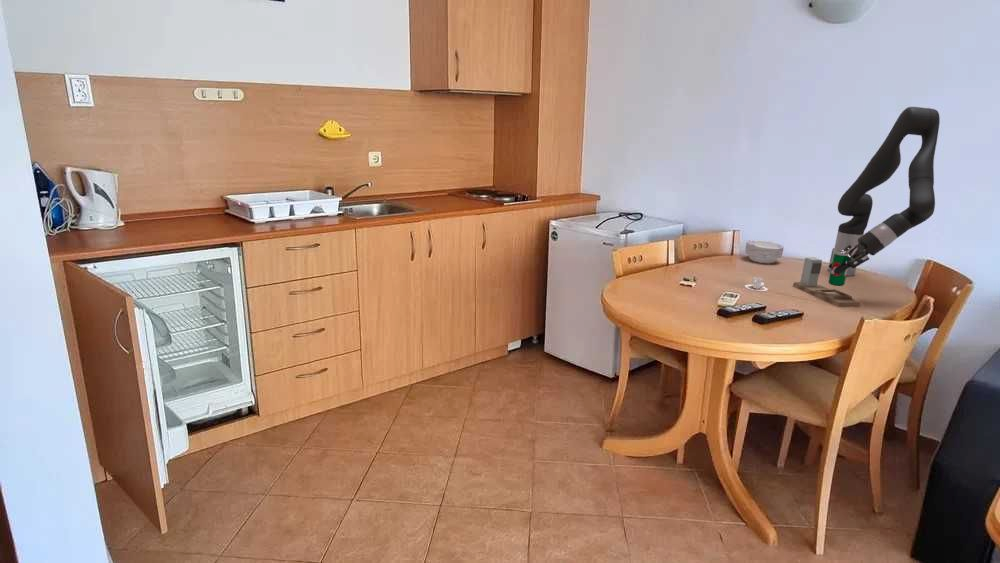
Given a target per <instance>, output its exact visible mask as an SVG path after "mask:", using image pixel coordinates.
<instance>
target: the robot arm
mask: <svg viewBox="0 0 1000 563" xmlns="http://www.w3.org/2000/svg"><path fill="white" fill-rule="evenodd" d="M940 118H941V117H940V114H939V111H938V110H937V109H935V108H930V107H920V106H908V107H906V108H905V109H904V110H902V112H900V114H899V116H898V117H897V118H896V121H895V122H894V124H893V126H892V127H891V129H890V131H889V133H888V135H887V136H886V138H885V140H884V141H883V142H882V143H881V145H880V147H879V148H878V149H877V151H876V152H875V154H874V155H873V156H872V157H871V158H870V160H869V162H868V163H867V164H866V165H865V167H864V169H863V170H862V172H861V173H860V175H858V177H857V178H856V180H855V181H854V182H853V184H851V185H850V187H849V188H848V189H847V190H846V191H844V192H843V194H842V196H841V197H840V198H839V201H838V204H837V211H838V213H839V214H840V215H842V216H847V217H852V218H851V219H850V220H848V221H846V222H843V223H840V224H839V225H838V228H837V229H838V230H837V234H836V239H835V243H834V247H833V248H832V249H831V254H830V259H829V264H828V271H829V272H830V271H831V266H832V261H833V256H834V253H835V252H836V250H843V251H848V252H850V253H849V254H850V256H849V257H848V259H847V260H846V261H845V262H844V263H845V264H844V263H843V264H841V265H840V266H838V267H837V268H836V269H835V272H836V273H837V274H840V273H842V272H843V271H845V270H846V269H848V270H847V275H846V277H848V276H849V277H853V276H855V275H856V270H857V267H859V266H860V265H862V264H864V263H866V262H867V261H868V260H870V257H869V255H870V256H875V255H877V254H878V253H879V252H881V251H882V250H884V249H885V248H886V247H888V246H890V245H891V244H893V242H894V241H896V239H898V238H899V237H900V236H903V234H905V233H906V232H908V231H909V230H911V229H912V228H915V227H916V226H919V225H921V224H922V223H924V222H925V221H927V220H929V219H930V218H931V217H932V215H933V214H934V212H935V208H936V207H935V206H936V199H935V198H936V197H935V190H934V189H935V188H934V185H935V184H934V183H935V180H934V179H935V171H934V169H935V168H934V162H935V153H936V148H937V143H938V137H939V136H938V135H939V128H940V122H941V121H940ZM908 135H912V136H921V145H920V148H919V150H918V151H917V153H916V154H915V156H914V157H913V158H912V160H911V162H910V164H909V167H908V174H907V175H908V176H907V178H908V189H909V201H908V202H909V204H908V207H906V208H905V209H904V210H902V211H901V212H899V213H894V214H892V215H891V216H889V217H888V218H886V219H885V220H883V221H882V222H881V223H878V224H877V225H876V226H874V227H872V228H871V229H869V230H868V231H866V229H867V226H868V223H869V221H870V220H869V219H870V216H871V212H872V209H873V197H872V195H870V194H868V192H870V191H871V190H872V189H875V188H876V187H879V186H880V185H882V184H884V183H885V182H888V180H889V179H891V178H892V176H893V175H894V173H895V172H897V169H898V168H899V167H900V165H901V160H902V159H901V158H902V157H901V156H902V155H901V154H902V153H901V150H900V149H901V143H902V142H903V140H904V139H905V137H906V136H908ZM865 231H866V233H865ZM852 275H853V276H852Z"/></svg>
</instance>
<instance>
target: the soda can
mask: <svg viewBox="0 0 1000 563" xmlns="http://www.w3.org/2000/svg"><path fill="white" fill-rule="evenodd" d="M849 253H850V252H848V251H843V250H836V252H835V253H834V256H833V261H832V266H831V271H829V277H828V281H827V282H828V284H830V285H832V286H834V287H835V286H836V287H843V286H844V285H845V284H846V278H847V276H846V275H847V270H848V269H846V270H845V271H843V272H842V273H840V274H837V273H836V272H835V269H836V268H837V267H838V266H840V265H841V264H843V263H844V262H845V261H846V260H847V259H848V257H849V256H850V254H849ZM844 264H845V263H844Z"/></svg>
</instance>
